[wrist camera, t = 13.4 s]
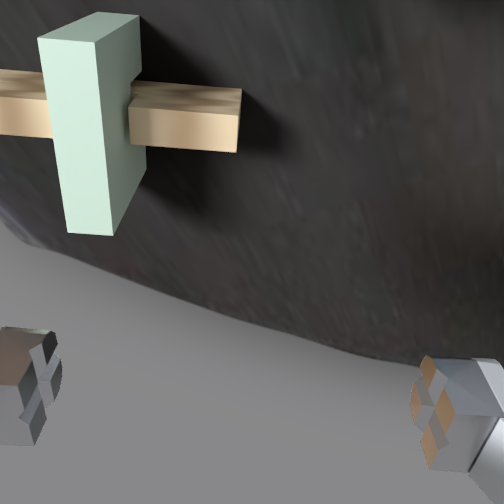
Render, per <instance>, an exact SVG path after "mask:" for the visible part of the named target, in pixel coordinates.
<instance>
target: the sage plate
mask: <svg viewBox="0 0 504 504" xmlns="http://www.w3.org/2000/svg"><path fill="white" fill-rule="evenodd" d="M37 39H38V45H39V52H40V58H41V65H42V71H43V77H44V84H45V90H46V97H47V103H48V109H49V116H50V122H51V128H52V135H53V141H54V148H55V154H56V160H57V167H58V173H59V179H60V186H61V192H62V199H63V205H64V211H65V218H66V224H67V231H68V232H69V233H83V234H97V235H111V236H113V235H114V233H115V231H116V229H117V227H118V225H119V223H120V221H121V219H122V217H123V215H124V213H125V211H126V209H127V207H128V205H129V203H130V201H131V199H132V197H133V195H134V193H135V191H136V189H137V187H138V185H139V183H140V181H141V179H142V177H143V175H144V173H145V171H146V169H147V168H146V147H145V145H133V144H130V129H129V113H128V106H129V105H130V104H131V103H132V101H131V85H130V83H131V82H132V81H133V80H134V79H135V78H136V77H137V75H138V74H139V73H140V72H141V71H142V64H141V43H140V22H139V15H129V14H117V13H105V12H96V13H94V14H91V15H89V16H87V17H84V18H82V19H80V20H77V21H75V22H73V23H70V24H68V25H66V26H63V27H61V28H59V29H57V30H54V31H52V32H50V33H47V34H45V35H43V36H40V37H38V38H37Z"/></svg>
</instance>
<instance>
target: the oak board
mask: <svg viewBox="0 0 504 504" xmlns="http://www.w3.org/2000/svg"><path fill="white" fill-rule="evenodd" d="M130 85H131V101H132V103H131V104H130V105H129V106H128V113H129V129H130V144H133V145H146V146H159V147H172V148H185V149H198V150H211V151H224V152H236V150H237V141H238V133H239V124H240V111H241V95H242V89H236V88H224V87H212V86H199V85H187V84H175V83H162V82H150V81H138V80H133V81H132V82H131V83H130ZM0 134H4V135H17V136H30V137H43V138H53V135H52V128H51V122H50V116H49V109H48V103H47V97H46V90H45V84H44V77H43V73H40V72H27V71H15V70H3V69H0Z"/></svg>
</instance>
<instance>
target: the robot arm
mask: <svg viewBox="0 0 504 504" xmlns="http://www.w3.org/2000/svg"><path fill="white" fill-rule="evenodd" d="M57 345H58V343H57V339H56V335H55V333H54V332H53V331H49V330H38V329H27V328H15V327H0V445H17V446H34V445H35V443H36V441H37V439H38V437H39V435H40V433H41V430H42V428H43V426H44V424H45V422H46V419H47V418H46V414H45V408H46V407H48V406H49V405H51V404H52V403H53V402H54V401H55V399H56V397H57V394H58V392H59V389H60V385H61V380H62V363H61V359H60V358H59V357H58V356H57V355H56V354H55V353H54V350H55V349H56V347H57ZM420 370H421V373H422V377H421V378H419V379H418V380H416V381H415V382H414V384H413V387H412V391H411V397H410V407H411V414H412V417H413V421H414V424H415V425H416V426H417V427H418V428H419V429H420V430H421V431H422V432H423V433H424V434H423V436H422V439H421V441H420V443H421V446H422V449H423V452H424V455H425V458H426V461H427V464H428V467H429V469H430V470H440V471H450V472H462V473H469V476H470V477H471V478H472V479H473V481H474V482H475V483H476V484H477V485H478V486H479V487H480V489H481V490H482V491H483V492H484V493H485V494H486V495H487V496H488V498H489V499H490V500H491V501H492V502H493V503H494V504H504V370H503V368H502V366H501V364H500V363H499V362H498V361H496V360H495V359H481V358H471V359H470V358H460V357H443V356H426V357H425V358H424V359H423V361H422V363H421V366H420Z"/></svg>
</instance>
